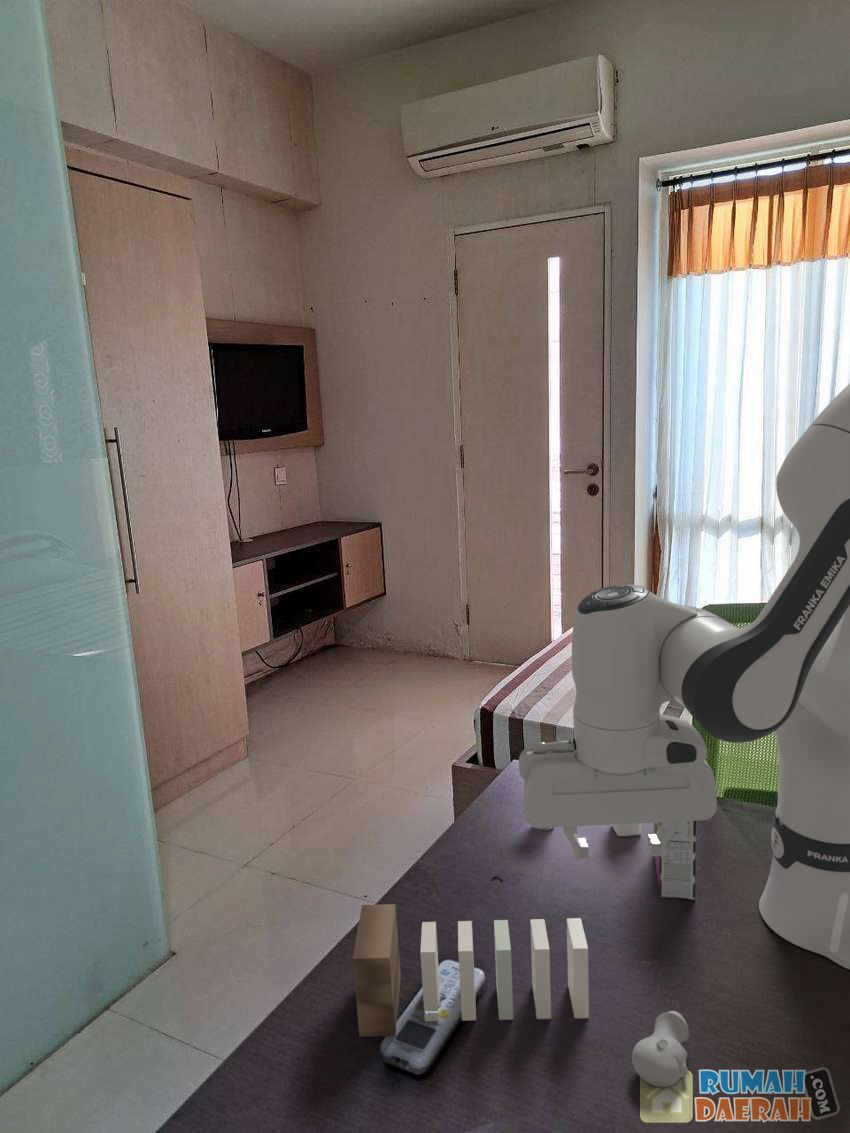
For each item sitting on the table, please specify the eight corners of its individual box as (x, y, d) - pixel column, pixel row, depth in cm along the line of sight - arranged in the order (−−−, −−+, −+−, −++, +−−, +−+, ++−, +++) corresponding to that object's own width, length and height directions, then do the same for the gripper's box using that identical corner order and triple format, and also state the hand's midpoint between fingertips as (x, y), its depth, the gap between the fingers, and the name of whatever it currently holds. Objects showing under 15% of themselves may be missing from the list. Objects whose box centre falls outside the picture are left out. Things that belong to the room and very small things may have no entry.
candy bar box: (651, 852, 117) (652, 751, 113) (686, 854, 116) (688, 752, 112) (657, 899, 106) (658, 789, 103) (696, 902, 105) (698, 791, 102)
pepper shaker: (609, 824, 125) (609, 770, 123) (634, 822, 125) (634, 768, 123) (617, 838, 121) (617, 782, 119) (642, 836, 121) (643, 780, 119)
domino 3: (510, 986, 92) (507, 919, 90) (513, 1019, 87) (510, 950, 86) (496, 986, 92) (493, 920, 90) (499, 1019, 88) (496, 950, 86)
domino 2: (474, 987, 93) (471, 920, 91) (476, 1020, 88) (472, 950, 86) (461, 987, 93) (457, 921, 91) (461, 1020, 88) (458, 951, 86)
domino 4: (545, 985, 92) (544, 919, 90) (551, 1018, 87) (549, 949, 85) (532, 985, 92) (530, 919, 90) (536, 1019, 87) (534, 949, 85)
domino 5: (581, 984, 92) (580, 918, 90) (588, 1018, 87) (588, 948, 85) (568, 985, 92) (566, 918, 90) (574, 1018, 87) (573, 948, 85)
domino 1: (439, 987, 93) (435, 921, 91) (438, 1021, 88) (434, 951, 86) (426, 988, 93) (422, 922, 91) (424, 1021, 88) (420, 952, 86)
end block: (400, 976, 95) (395, 904, 93) (395, 1035, 86) (389, 957, 84) (368, 977, 95) (362, 905, 93) (359, 1036, 86) (352, 958, 84)
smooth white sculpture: (664, 1111, 77) (620, 1071, 80) (699, 1057, 82) (656, 1022, 85) (677, 1085, 75) (631, 1045, 78) (712, 1031, 81) (667, 996, 84)
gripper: (520, 757, 80) (526, 877, 83) (723, 746, 79) (721, 868, 82) (515, 731, 86) (521, 843, 89) (703, 720, 85) (702, 834, 88)
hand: (618, 855), depth 85 cm, fingers open, 7 cm apart
